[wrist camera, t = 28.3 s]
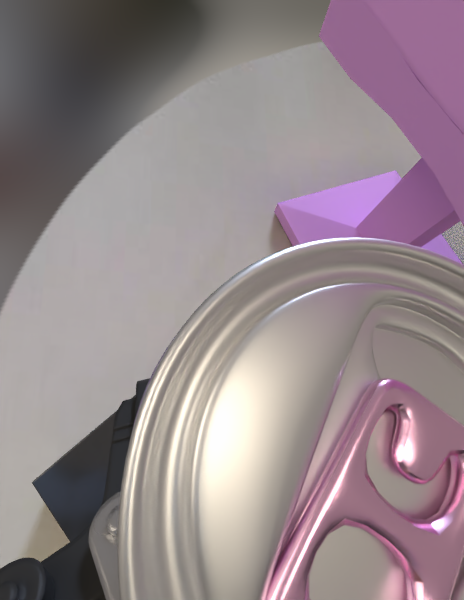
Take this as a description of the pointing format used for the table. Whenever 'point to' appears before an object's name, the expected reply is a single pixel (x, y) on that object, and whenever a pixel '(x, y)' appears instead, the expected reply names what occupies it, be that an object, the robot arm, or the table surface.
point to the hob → (78, 481)
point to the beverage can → (305, 435)
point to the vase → (407, 115)
